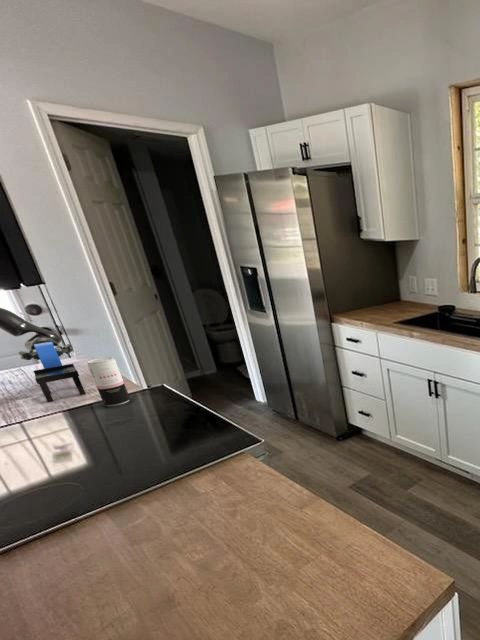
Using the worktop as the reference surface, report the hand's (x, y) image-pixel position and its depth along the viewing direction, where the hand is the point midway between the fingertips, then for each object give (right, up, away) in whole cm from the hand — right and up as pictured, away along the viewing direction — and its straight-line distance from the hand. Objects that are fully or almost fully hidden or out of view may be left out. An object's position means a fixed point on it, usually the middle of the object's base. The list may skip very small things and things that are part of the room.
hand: (48, 355), depth 148 cm
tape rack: (+7, -14, -1) cm, 16 cm away
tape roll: (-2, -5, +4) cm, 6 cm away
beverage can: (+36, -17, -11) cm, 41 cm away
